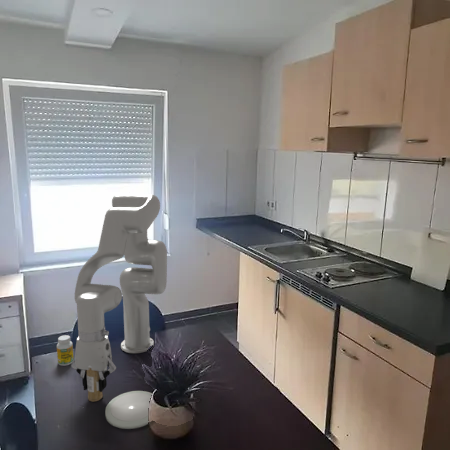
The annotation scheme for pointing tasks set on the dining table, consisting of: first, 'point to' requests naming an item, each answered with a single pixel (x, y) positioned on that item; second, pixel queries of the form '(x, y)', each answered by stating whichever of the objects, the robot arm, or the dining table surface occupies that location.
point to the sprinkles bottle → (93, 385)
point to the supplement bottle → (65, 350)
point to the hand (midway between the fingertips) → (94, 387)
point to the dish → (129, 410)
